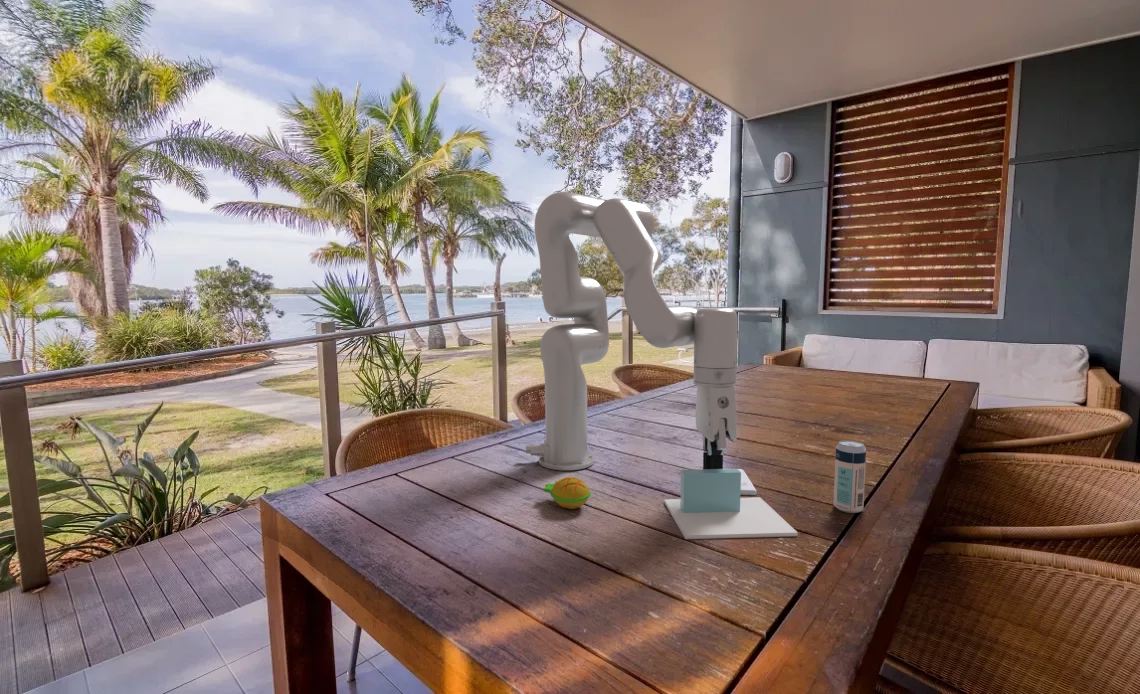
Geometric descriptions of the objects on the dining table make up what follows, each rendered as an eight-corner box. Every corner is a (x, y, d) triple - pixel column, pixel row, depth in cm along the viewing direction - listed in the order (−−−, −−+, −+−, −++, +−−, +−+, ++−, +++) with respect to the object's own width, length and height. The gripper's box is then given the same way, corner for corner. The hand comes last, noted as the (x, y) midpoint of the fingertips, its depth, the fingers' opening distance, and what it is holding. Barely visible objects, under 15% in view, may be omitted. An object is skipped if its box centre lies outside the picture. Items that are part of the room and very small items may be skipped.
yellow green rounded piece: (568, 518, 93) (567, 488, 92) (536, 501, 101) (535, 473, 100) (598, 509, 97) (598, 480, 97) (565, 493, 105) (565, 466, 105)
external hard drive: (743, 476, 116) (757, 498, 104) (704, 475, 117) (713, 496, 104) (743, 468, 116) (757, 489, 103) (704, 467, 117) (713, 488, 104)
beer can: (860, 506, 98) (864, 441, 97) (865, 516, 93) (869, 448, 92) (831, 502, 100) (834, 438, 98) (835, 512, 95) (838, 445, 94)
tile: (683, 512, 94) (684, 473, 93) (680, 508, 96) (681, 469, 95) (740, 511, 94) (741, 472, 94) (735, 506, 96) (736, 468, 96)
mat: (685, 539, 85) (685, 535, 85) (664, 502, 100) (664, 499, 100) (797, 536, 86) (797, 532, 86) (759, 500, 101) (759, 497, 101)
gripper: (750, 382, 91) (747, 488, 93) (721, 370, 106) (719, 461, 108) (706, 383, 91) (704, 489, 92) (683, 370, 106) (682, 462, 107)
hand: (712, 474), depth 100 cm, fingers closed
